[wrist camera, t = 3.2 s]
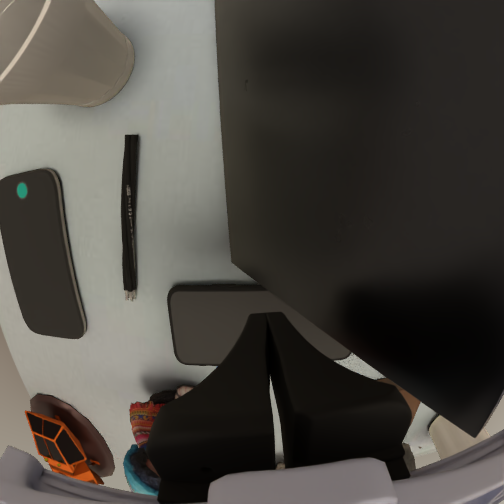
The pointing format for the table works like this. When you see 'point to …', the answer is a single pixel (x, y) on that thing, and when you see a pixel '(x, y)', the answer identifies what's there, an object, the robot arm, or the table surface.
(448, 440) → the cup
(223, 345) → the smartphone
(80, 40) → the cup
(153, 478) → the figurine
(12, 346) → the table surface
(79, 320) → the smartphone
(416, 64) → the laptop screen
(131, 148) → the black pen
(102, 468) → the toy spacecraft
